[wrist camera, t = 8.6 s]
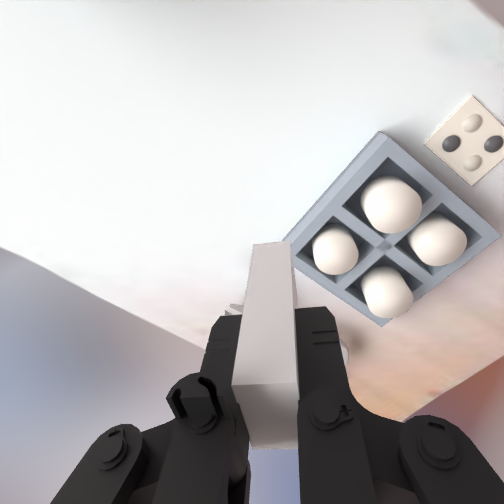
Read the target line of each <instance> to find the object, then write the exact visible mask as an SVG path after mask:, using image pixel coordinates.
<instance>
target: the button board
mask: <svg viewBox="0 0 504 504" xmlns="http://www.w3.org/2000/svg"><path fill="white" fill-rule="evenodd" d="M387 175H389V176H395V177H398V178H400V179H401V180H403V181H404V182H405V183H406V184H407V185H409V186H410V187H411V188H412V189H413V190H414V191H416V192H417V193H418V195H419V196H420V198H421V201H422V210H421V214H420V216H419V218H418V219H417V221H416V222H415V223H414V224H413V225H412V226H411V227H409V228H408V229H406V230H404V231H402V232H399V233H393V234H388V233H383V232H380V231H378V230H377V229H375V228H374V227H373V226H372V224H371V222H370V221H369V219H368V218H367V216H366V214H365V213H364V211H363V209H362V207H361V195H362V192H363V190H364V188H365V187H366V186H367V185H368V184H369V183H370V182H371V181H372V180H374V179H376V178H378V177H381V176H387ZM431 212H436V213H440V214H442V215H444V216H445V217H447V218H448V219H449V220H450V221H451V222H453V223H454V224H455V225H456V226H457V227H459V228H460V229H461V230H462V231H463V232H464V233H465V235H466V238H467V245H466V248H465V250H464V252H463V253H462V255H461V256H460V257H459V258H457V259H456V260H455V261H453V262H451V263H449V264H446V265H442V266H431V265H428V264H425V263H424V262H423V261H421V259H420V258H419V257H418V256H417V254H416V253H415V252H414V250H413V249H412V248H411V246H410V245H409V244H408V242H407V240H406V234H407V233H408V232H410V231H411V230H412V229H413V228H414V227H415V226H416V225H417V224H418V223H420V222H421V221H422V220H423V219H424V218H425V217H426V216H427V215H429V214H430V213H431ZM333 223H334V224H340V225H343V226H344V227H346V228H347V229H348V230H349V231H350V233H351V235H352V237H353V240H354V242H355V244H356V247H357V249H358V254H359V256H358V260H357V263H356V264H355V266H354V267H353V268H352V269H351V270H349V271H348V272H346V273H343V274H339V275H331V274H327V273H324V272H322V271H321V270H320V269H319V268H318V267H317V266H316V264H315V261H314V255H313V248H312V238H313V236H314V235H315V234H316V233H317V232H318V231H319V230H320V229H321V227H322V226H324V225H327V224H333ZM501 236H502V235H501V234H500V233H499V232H498V231H497V230H495V229H494V228H493V227H492V226H491V225H490V224H489V223H487V222H486V221H485V220H484V219H483V218H482V217H480V216H479V215H478V214H477V213H476V212H475V211H474V210H472V209H471V208H470V207H469V206H468V205H467V204H466V203H464V202H463V201H462V200H461V199H460V198H459V197H457V196H456V195H455V194H454V193H453V192H452V191H451V190H449V189H448V188H447V187H446V186H445V185H444V184H443V183H441V182H440V181H439V180H438V179H437V178H436V177H435V176H433V175H432V174H431V173H430V172H429V171H428V170H426V169H425V168H424V167H423V166H422V165H421V164H420V163H418V162H417V161H416V160H415V159H414V158H413V157H412V156H410V155H409V154H408V153H407V152H406V151H405V150H403V149H402V148H401V147H400V146H399V145H398V144H397V143H395V142H394V141H393V140H392V139H391V138H390V137H388V136H387V135H385V134H383V133H381V132H379V131H378V132H377V133H376V134H375V136H374V137H373V138H372V139H371V140H370V141H369V142H368V144H367V145H366V146H365V147H364V148H363V149H362V150H361V152H360V153H359V154H358V155H357V156H356V157H355V158H354V159H353V161H352V162H351V163H350V164H349V165H348V166H347V167H346V169H345V170H344V171H343V172H342V173H341V174H340V175H339V176H338V178H337V179H336V180H335V181H334V182H333V183H332V184H331V186H330V187H329V188H328V189H327V190H326V191H325V192H324V194H323V195H322V196H321V197H320V198H319V199H318V200H317V201H316V203H315V204H314V205H313V206H312V207H311V208H310V209H309V211H308V212H307V213H306V214H305V215H304V216H303V217H302V219H301V220H300V221H299V222H298V223H297V224H296V225H295V226H294V228H293V229H292V230H291V231H290V232H289V233H288V234H287V236H286V237H285V238H284V239H283V240H282V241H290V246H291V253H292V261H293V267H295V268H296V269H297V270H299V271H300V272H302V273H303V274H305V275H306V276H308V277H309V278H311V279H312V280H314V281H315V282H316V283H318V284H319V285H321V286H322V287H324V288H325V289H327V290H328V291H330V292H331V293H333V294H334V295H335V296H337V297H338V298H340V299H341V300H343V301H344V302H346V303H347V304H349V305H350V306H352V307H353V308H354V309H356V310H357V311H359V312H360V313H362V314H363V315H365V316H366V317H368V318H369V319H371V320H372V321H374V322H375V323H376V324H378V325H379V326H381V327H382V326H384V325H385V324H386V323H388V322H389V321H390V320H392V319H393V318H381V317H378V316H376V315H374V314H373V313H372V312H371V311H370V310H369V308H368V305H367V302H366V300H365V297H364V294H363V291H362V289H361V280H362V278H363V276H364V275H365V274H366V273H367V272H368V271H369V270H371V269H373V268H375V267H379V266H389V267H393V268H395V269H396V270H398V271H399V273H400V274H401V276H402V277H403V279H404V281H405V282H406V284H407V286H408V287H409V289H410V291H411V292H412V295H413V303H414V302H415V301H416V300H418V299H419V298H420V297H422V296H423V295H424V294H426V293H427V292H428V291H430V290H431V289H432V288H434V287H435V286H436V285H438V284H439V283H440V282H441V281H443V280H444V279H445V278H447V277H448V276H449V275H451V274H452V273H453V272H455V271H456V270H457V269H459V268H460V267H461V266H462V265H464V264H465V263H466V262H468V261H469V260H470V259H472V258H473V257H474V256H476V255H477V254H478V253H480V252H481V251H482V250H484V249H485V248H486V247H487V246H489V245H490V244H491V243H493V242H494V241H495V240H497V239H498V238H499V237H501ZM413 303H412V304H413Z"/></svg>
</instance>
